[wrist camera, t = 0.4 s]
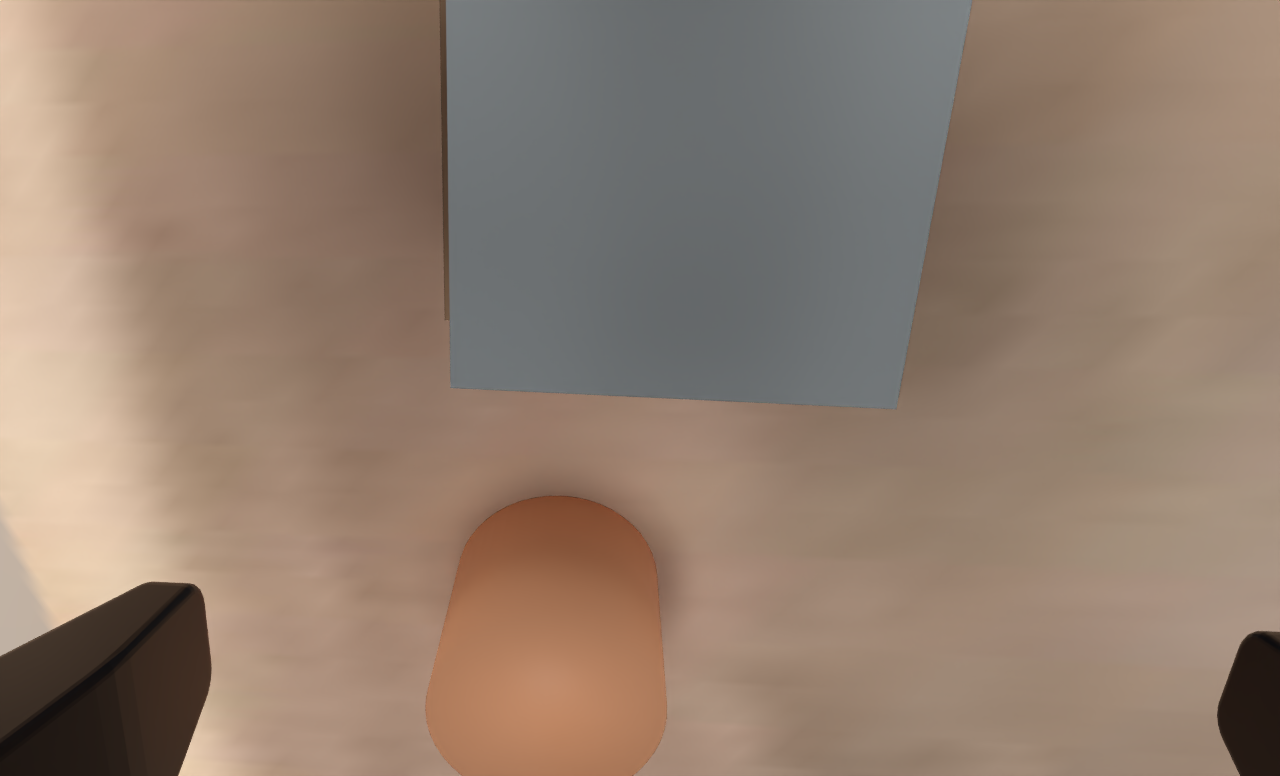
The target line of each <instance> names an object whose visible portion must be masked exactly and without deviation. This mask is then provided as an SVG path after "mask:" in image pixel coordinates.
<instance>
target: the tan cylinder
mask: <svg viewBox="0 0 1280 776" xmlns="http://www.w3.org/2000/svg"><path fill="white" fill-rule="evenodd" d="M426 719H427V725H428V728H429V732H430V735H431V737H432V739H433V741H434V743H435V746H436V747H437V749H438V750H439V752H440V753H441V755H442V756H443V757H444V759H445V760H446V761H447V762H448V763H449V764H450V765H451V766H452V767H453V768H454V769H455V770H456V771H457V772H458V773H460V774H461V775H462V776H633V775H634V774H635V773H637V772H638V771H639V770H640V769H641V768H642V767H643V766H644V765H645V764H646V763H647V761H648V760H649V759H650V757H651V756H652V755H653V753H654V752H655V750H656V748H657V746H658V745H659V743H660V741H661V738H662V735H663V732H664V730H665V724H666V719H667V700H666V687H665V674H664V661H663V647H662V634H661V621H660V607H659V594H658V581H657V571H656V565H655V561H654V558H653V555H652V552H651V550H650V548H649V546H648V544H647V543H646V541H645V540H644V538H643V537H642V535H641V534H640V533H639V532H638V530H637V529H636V528H635V527H634V526H633V525H632V524H631V523H630V522H628V521H627V520H626V519H625V518H624V517H622V516H621V515H619V514H618V513H616V512H615V511H613V510H611V509H609V508H607V507H605V506H603V505H601V504H598V503H595V502H592V501H589V500H585V499H581V498H576V497H568V496H544V497H536V498H531V499H527V500H523V501H520V502H517V503H515V504H512V505H509V506H507V507H505V508H503V509H502V510H500V511H498V512H496V513H495V514H493V515H492V516H491V517H489V518H488V519H487V520H486V521H484V522H483V523H482V524H481V525H480V526H479V527H478V528H477V529H476V531H475V532H474V533H473V534H472V536H471V537H470V539H469V540H468V542H467V544H466V546H465V548H464V550H463V553H462V555H461V558H460V562H459V566H458V570H457V574H456V578H455V582H454V586H453V590H452V594H451V599H450V603H449V607H448V611H447V615H446V619H445V623H444V627H443V631H442V635H441V639H440V643H439V647H438V651H437V655H436V659H435V663H434V667H433V671H432V675H431V679H430V683H429V687H428V692H427V696H426Z"/></svg>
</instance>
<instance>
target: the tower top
mask: <svg viewBox="0 0 1280 776" xmlns="http://www.w3.org/2000/svg"><path fill="white" fill-rule="evenodd" d="M971 5H972V0H446V46H447V130H448V214H449V298H450V382H451V388H461V389H482V390H503V391H524V392H545V393H566V394H587V395H608V396H629V397H650V398H671V399H692V400H713V401H734V402H755V403H776V404H797V405H818V406H839V407H860V408H881V409H896V408H897V402H898V397H899V392H900V386H901V381H902V376H903V370H904V365H905V359H906V354H907V349H908V343H909V338H910V333H911V327H912V322H913V316H914V311H915V306H916V300H917V295H918V290H919V284H920V279H921V273H922V268H923V263H924V257H925V252H926V247H927V241H928V236H929V230H930V225H931V220H932V214H933V209H934V204H935V198H936V193H937V187H938V182H939V177H940V171H941V166H942V161H943V155H944V150H945V144H946V139H947V134H948V128H949V123H950V118H951V112H952V107H953V101H954V96H955V91H956V85H957V80H958V75H959V69H960V64H961V58H962V53H963V48H964V42H965V37H966V32H967V26H968V21H969V15H970V10H971Z"/></svg>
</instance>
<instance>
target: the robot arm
mask: <svg viewBox="0 0 1280 776" xmlns="http://www.w3.org/2000/svg"><path fill="white" fill-rule="evenodd" d="M211 669H212V667H211V656H210V647H209V638H208V629H207V620H206V611H205V603H204V598H203V595H202V593H201V590H200V589H199V588H198V587H197V586H195V585H194V584H190V583H169V582H147V583H144V584H141V585H139V586H137V587H135V588H133V589H131V590H129V591H128V592H126V593H124V594H122V595H120V596H118V597H116V598H114V599H112V600H110V601H108V602H106V603H104V604H102V605H100V606H98V607H96V608H94V609H92V610H90V611H88V612H86V613H84V614H82V615H80V616H78V617H76V618H74V619H72V620H71V621H69V622H67V623H65V624H63V625H61V626H59V627H57V628H55V629H53V630H51V631H49V632H47V633H45V634H43V635H41V636H39V637H37V638H35V639H33V640H31V641H29V642H28V643H26V644H23V645H21V646H19V647H17V648H16V649H13V650H12V651H10V652H8V653H6V654H4V655H2V656H0V776H178V775H179V772H180V769H181V767H182V764H183V761H184V758H185V756H186V753H187V750H188V747H189V745H190V742H191V739H192V736H193V734H194V731H195V728H196V725H197V723H198V720H199V717H200V714H201V712H202V709H203V706H204V703H205V701H206V698H207V695H208V691H209V687H210V681H211ZM1217 718H1218V726H1219V730H1220V733H1221V736H1222V739H1223V741H1224V743H1225V745H1226V747H1227V749H1228V751H1229V753H1230V755H1231V757H1232V760H1233V762H1234V764H1235V766H1236V768H1237V770H1238V772H1239V774H1240V776H1280V632H1269V631H1256V632H1253V633H1251V634H1249V635H1248V636H1246V638H1245V639H1244V640H1243V641H1242V642H1241V644H1240V646H1239V649H1238V652H1237V654H1236V657H1235V660H1234V663H1233V665H1232V668H1231V671H1230V674H1229V676H1228V679H1227V682H1226V685H1225V687H1224V690H1223V693H1222V696H1221V698H1220V701H1219V705H1218V712H1217Z"/></svg>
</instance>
